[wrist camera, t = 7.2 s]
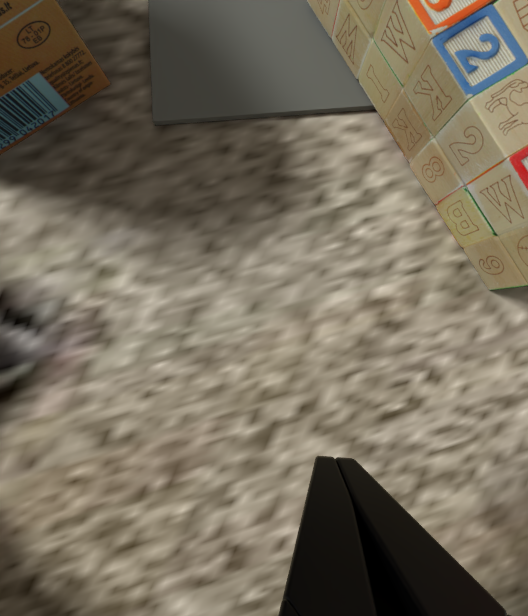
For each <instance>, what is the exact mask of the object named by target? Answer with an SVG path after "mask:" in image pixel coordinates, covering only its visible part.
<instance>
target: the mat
mask: <svg viewBox="0 0 528 616" xmlns="http://www.w3.org/2000/svg"><path fill="white" fill-rule="evenodd" d="M148 3H149V31H150V59H151V87H152V115H153V123H154V124H155V125H167V124H181V123H195V122H208V121H222V120H236V119H250V118H263V117H277V116H291V115H305V114H318V113H332V112H346V111H360V110H373V109H376V108H375V107H374V105H373V104H372V102H371V101H370V99H369V97H368V96H367V94H366V93H365V91H364V89H363V88H362V86H361V85H360V83H359V79H356V77H355V76H354V74H353V73H352V71H351V69H350V68H349V66H348V65H347V63H346V61H345V60H344V58H343V57H342V55H341V54H340V52H339V51H338V49H337V48H336V46H335V44H334V43H333V41H332V39H331V38H330V37H329V36H328V34H327V32H326V31H325V29H324V27H323V26H322V24H321V23H320V21H319V20H318V18H317V16H316V15H315V13H314V11H313V10H312V8H311V7H310V5H309V3H308V2H307V0H148Z"/></svg>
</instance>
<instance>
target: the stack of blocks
mask: <svg viewBox="0 0 528 616" xmlns="http://www.w3.org/2000/svg"><path fill="white" fill-rule="evenodd" d="M307 2H308V3H309V5H310V7H311V8H312V10H313V11H314V13H315V15H316V16H317V18H318V20H319V21H320V23H321V24H322V26H323V27H324V29H325V31H326V32H327V34H328V36H329V37H330V38H331V39H332V41H333V43H334V44H335V46H336V48H337V49H338V51H339V52H340V54H341V55H342V57H343V58H344V60H345V61H346V63H347V65H348V66H349V68H350V69H351V71H352V73H353V74H354V76H355V77H356V79H359V83H360V85H361V86H362V88H363V89H364V91H365V93H366V94H367V96H368V97H369V99H370V101H371V102H372V104H373V105H374V107H375V108H376V110H377V112H378V113H379V115H380V116H381V118H382V119H383V120H384V122H385V125H386V127H387V128H388V130H389V131H390V133H391V134H392V136H393V138H394V139H395V141H396V142H397V144H398V145H399V147H400V148H401V150H402V152H403V154H404V156H405V157H406V159H407V160H408V162H409V163H410V167H411V169H412V170H413V172H414V174H415V175H416V177H417V179H418V180H419V182H420V183H421V185H422V187H423V188H424V190H425V191H426V193H427V194H428V196H429V197H430V199H431V200H432V202H433V203H434V204H435V206H436V208H437V210H438V212H439V213H440V215H441V216H442V218H443V220H444V221H445V223H446V224H447V226H448V228H449V229H450V230H451V232H452V234H453V236H454V237H455V239H456V240H457V242H458V243H459V245H460V246H461V247H463V248H464V251H465V253H466V255H467V256H468V258H469V259H470V261H471V263H472V264H473V266H474V267H475V269H476V270H477V272H478V273H479V275H480V277H481V278H482V280H483V281H484V283H485V285H486V286H487V287H488V289H489V290H497V289H505V288H514V287H522V286H528V0H307Z"/></svg>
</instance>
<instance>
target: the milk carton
mask: <svg viewBox="0 0 528 616" xmlns="http://www.w3.org/2000/svg"><path fill="white" fill-rule="evenodd" d="M110 84H111V83H110V82H109V80H108V79H107V77H106V75H105V74H104V72H103V71H102V69H101V68H100V66H99V65H98V63H97V62H96V60H95V58H94V57H93V55H92V54H91V52H90V51H89V49H88V48H87V46H86V44H85V43H84V41H83V40H82V38H81V37H80V35H79V34H78V32H77V30H76V29H75V27H74V26H73V24H72V23H71V21H70V20H69V18H68V17H67V15H66V13H65V12H64V10H63V9H62V7H61V6H60V4H59V3H58V1H57V0H0V155H1V154H2V153H4V152H5V151H7V150H8V149H10V148H12V147H13V146H15V145H16V144H18V143H19V142H21V141H22V140H24V139H26V138H27V137H29V136H30V135H32V134H33V133H35V132H37V131H38V130H40V129H41V128H43V127H44V126H46V125H47V124H49V123H51V122H52V121H54V120H55V119H57V118H58V117H60V116H62V115H63V114H65V113H66V112H68V111H69V110H71V109H73V108H74V107H76V106H77V105H79V104H80V103H82V102H83V101H85V100H87V99H88V98H90V97H91V96H93V95H94V94H96V93H98V92H99V91H101V90H102V89H104V88H105V87H107V86H109V85H110Z"/></svg>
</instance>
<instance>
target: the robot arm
mask: <svg viewBox="0 0 528 616" xmlns="http://www.w3.org/2000/svg"><path fill="white" fill-rule="evenodd" d="M278 616H511V615H507V613H506V610H505V609H504V608H503V607H502V606H501V605H500V604H499V603H498V602H497V601H496V600H495V599H494V598H493V597H492V596H491V595H490V594H489V593H488V592H487V591H486V590H485V589H484V588H483V587H482V586H481V585H480V584H479V583H478V582H477V581H476V580H475V579H474V578H473V577H472V576H471V575H470V574H469V573H468V572H467V571H466V570H465V569H464V568H463V567H462V566H461V565H460V564H459V563H458V562H457V561H456V560H455V559H454V558H453V557H452V556H451V555H450V554H449V553H448V552H447V551H446V550H445V549H444V548H443V547H442V546H441V545H440V544H439V543H438V542H437V541H436V540H435V539H434V538H433V537H432V536H431V535H430V534H429V533H428V532H427V531H426V530H425V529H424V528H423V527H422V526H421V525H420V524H419V523H418V522H417V521H416V520H415V519H414V518H413V517H412V516H411V515H410V514H409V513H408V512H407V511H406V510H405V509H404V508H403V507H402V506H401V505H400V504H399V503H398V502H397V501H396V500H395V499H394V498H393V497H392V496H391V495H390V494H389V493H388V492H387V491H386V490H385V489H384V488H383V487H382V486H381V485H380V484H379V483H378V482H377V481H376V480H375V479H374V478H373V477H372V476H371V475H370V474H369V473H368V472H367V471H366V470H365V469H364V468H363V467H362V466H361V465H360V464H359V463H358V462H357V461H355V460H354V459H352V458H340V457H337V458H336V459H334V458H333V457H327V456H317V457H316V459H315V463H314V467H313V472H312V476H311V480H310V484H309V489H308V493H307V497H306V501H305V506H304V510H303V514H302V518H301V523H300V527H299V531H298V536H297V540H296V544H295V548H294V553H293V557H292V561H291V565H290V570H289V574H288V578H287V582H286V587H285V591H284V595H283V601H282V603H281V607H280V611H279V615H278Z"/></svg>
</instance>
